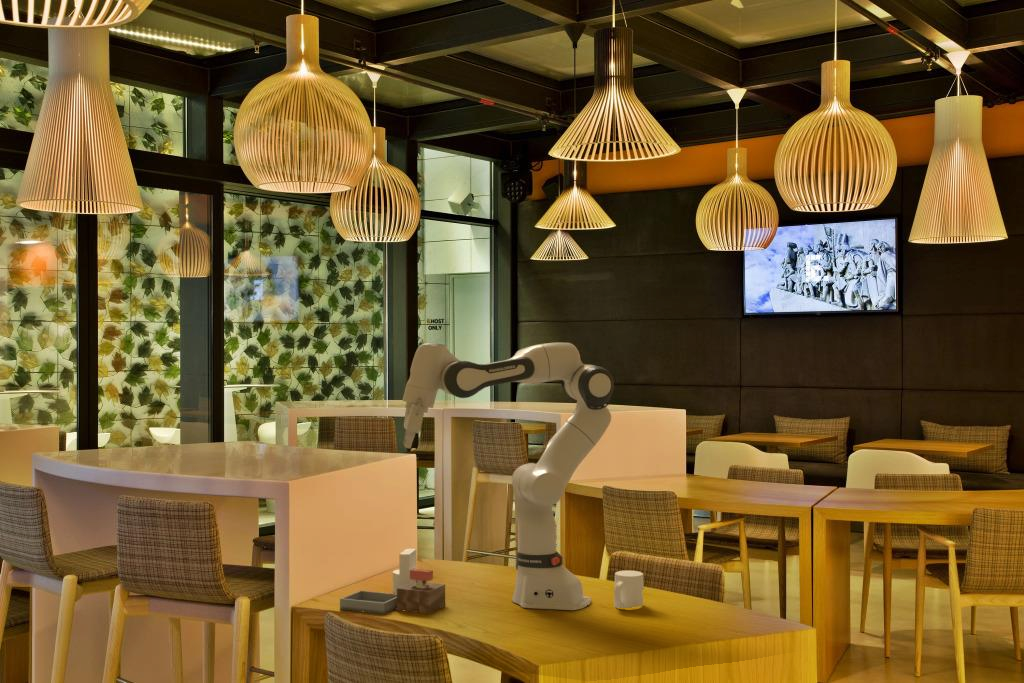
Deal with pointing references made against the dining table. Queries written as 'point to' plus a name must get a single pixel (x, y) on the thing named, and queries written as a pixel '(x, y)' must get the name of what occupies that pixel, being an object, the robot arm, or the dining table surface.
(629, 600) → the mug
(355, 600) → the tray
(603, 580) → the dining table surface
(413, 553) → the base with upright slab
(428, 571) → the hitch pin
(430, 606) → the wooden square hole block
